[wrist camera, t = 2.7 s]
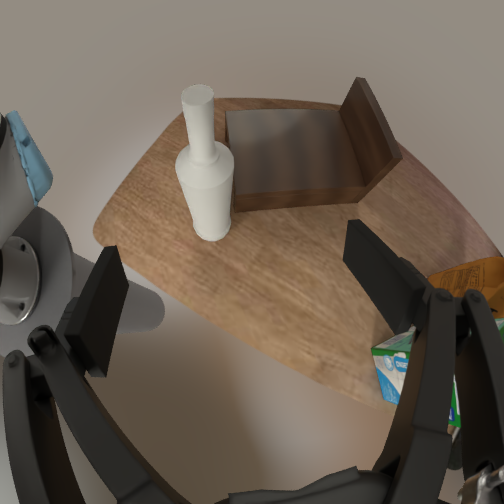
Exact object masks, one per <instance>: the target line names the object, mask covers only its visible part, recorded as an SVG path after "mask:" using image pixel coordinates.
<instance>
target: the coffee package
mask: <svg viewBox="0 0 504 504" xmlns="http://www.w3.org/2000/svg"><path fill="white" fill-rule="evenodd" d="M428 281H429V282H430V283H431V284H432V285H433V286H434V288H443V289H445V290H448V291H449V292H450V293H451V294H452V295H453V296H454V297H464V294H465V292H466V290H468V289H475V290H478V291H480V292H481V293H482V294H483V295H484V296H485V298H486V300H487V302H488V305H489V307H490V309H491V312H492V314H493V316H494V319H497V318H504V258H502V257H498V256H496V257H489V258H484V259H479V260H476V261H473V262H469V263H465V264H462V265H459V266H456V267H454V268H451V269H448V270H445V271H443V272H439V273H436V274H433V275H430V276H429V277H428Z"/></svg>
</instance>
